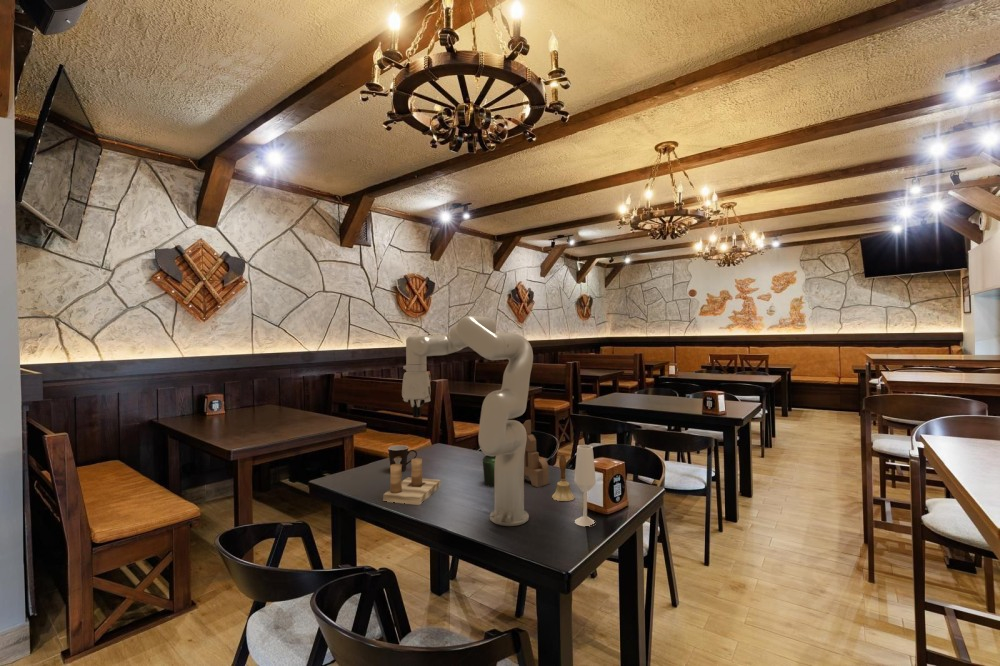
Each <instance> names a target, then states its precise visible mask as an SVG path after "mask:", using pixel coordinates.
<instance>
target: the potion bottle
mask: <svg viewBox="0 0 1000 666" xmlns="http://www.w3.org/2000/svg"><path fill="white" fill-rule="evenodd" d="M495 458H496V456H488V455H486V454H485V456H483V458H482V468H483V480H484V485H485V486H487V485H489V486H488V487H495Z"/></svg>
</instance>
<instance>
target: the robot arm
mask: <svg viewBox="0 0 1000 666" xmlns="http://www.w3.org/2000/svg"><path fill="white" fill-rule="evenodd" d="M467 347H469V348H470V349H472V350H473V352H476V353H477V354H478V355H479V356H481V357H483V358H484V359H486V360H490V361H501V360H508V363H507V365H506V367H505V370H504V371H503V376H502V385H501V389H498V390H497V389H496V390H493V391H491V392H489V393H488V394H487V395H486V396H485V398H484V399H483V401H482V405H481V411H480V417H479V418H480V419H479V428H478V445H479V448H480V450H481V452H482V453H483V454H484V455H485V456H486V455H488V456H496V458H495V486H494V510H493V511H491V512H490V514H489V520H490V521H491V522H492V523H494V524H495V525H498V526H504V527H515V526H520V525H523V524H525V523H527V522H528V521H529V519H530V518H529V517H530V516H529V513H528V512H527V510H525V480H524V454H525V447H526V441H527V434H526V430H525V427H524V426H523V423H521V422H520V421H518V420H515V418H518V417H521V416H523V414H524V413H525V412H526V409H527V405H528V404H527V403H528V396H529V389H530V379H531V372H532V368H533V364H534V363H533V362H534V353H533V347H532V346H531V343H530V342H529V341H528V340H527V338H526V337H524V336H523V335H521V334H518V333H514V332H497V325H496V323H495V321H494V320H493V319H492V318H490V317H487V316H485V315H484V316H482V315H480V316H479V315H466V316H464V317H461V319H459V321H458V322H457V324H454V325H453V326H451V328H450V329H449V333H447V334H441V335H435V334H432V335H421V336H420V335H419V336H417V335H416V336H414V335H413V336H412V335H411V336H408V337H406V341H405V351H406V352H405V355H406V356H405V357H406V358H405V360H406V364H405V365H403V366H402V367H403V368H402V369H403V370H405V371H406V372H404V374H403V376H402V377H403V378H402V385H401V386H402V388H401V396H402V398H403V399H402V401H404V402H405V403H409V405H410V406H411V408H412V416H413V418H416V419H417V418H421V416H422V406H423V405H424V404H425V403H429V402H431V391H432V390H431V380H430V375H429V372H428V371H427V357H433V356H445V355H449V354H453V353H455V352H459V351H461V350H462V349H464V348H467Z"/></svg>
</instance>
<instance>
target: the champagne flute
mask: <svg viewBox="0 0 1000 666" xmlns="http://www.w3.org/2000/svg"><path fill="white" fill-rule="evenodd" d="M593 448H594V447H593V446H592V445H589V444H578V445H577V447H576V449H577V450H576V458H575V469H574V481H573V482H574V484H575V486H576V487H577V488H578V489H579V490H580V491H581V492H582V516H580V517H578V518H576V519H575V520H574V521H575V522H574V524H576V525H578V526H581V527H585V526H589V527H591V526H590V525H592V524H594V523H595V522H596V521H595V520H594V519H592V518H590V517H589V516H588V492H589V491H590V490H592V489H593V488H594V486H595V485H596V483H597V482H596V481H597V480H596V479H597V478H596V468H595V459H594V450H593ZM594 521H595V522H594Z"/></svg>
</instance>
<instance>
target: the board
mask: <svg viewBox="0 0 1000 666" xmlns="http://www.w3.org/2000/svg"><path fill="white" fill-rule="evenodd" d="M389 467H390V468H389V470H390V480H389V481H390V485H389V487H390V489H389V490H387V491H386V492H385V493H383V495H382V501H387V502H386V503H393V502H395V503H394V504H402V505H415V506H416V505H417V506H420V505H421V504H423V503H424V502H425V501H426V500H427V499H428V498H429V497H431V496H432V495H433V494H434V493H435V492H436V491H437V490H438V489H440V488H441V487H440V486H441V479H434V478H432V479H430V478H422V486H421V487H411V477H405V479H403V480H402V476H403V475H402V473H403V472H402V465H401V464H392V465H390V464H389ZM432 493H433V494H432ZM431 494H432V495H431ZM423 501H424V502H423ZM422 502H423V503H422ZM404 503H405V504H404Z"/></svg>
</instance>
